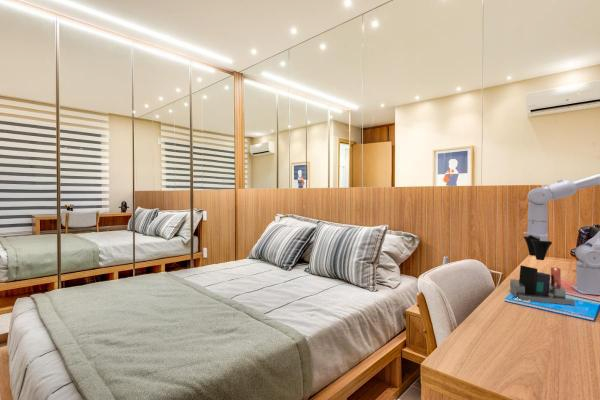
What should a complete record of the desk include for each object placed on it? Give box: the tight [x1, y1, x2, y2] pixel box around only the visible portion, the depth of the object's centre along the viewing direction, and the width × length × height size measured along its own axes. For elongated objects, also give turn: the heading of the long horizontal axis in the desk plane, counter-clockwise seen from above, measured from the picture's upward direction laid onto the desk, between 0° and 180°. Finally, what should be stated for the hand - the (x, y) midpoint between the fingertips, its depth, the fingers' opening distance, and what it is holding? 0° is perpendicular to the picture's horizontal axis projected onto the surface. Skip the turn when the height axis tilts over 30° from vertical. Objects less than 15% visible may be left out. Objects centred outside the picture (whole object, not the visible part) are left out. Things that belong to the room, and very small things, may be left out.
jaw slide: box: [548, 266, 566, 298], centre depth 98 cm, size 3×8×10 cm, turn 156°
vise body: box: [509, 278, 576, 306], centre depth 100 cm, size 14×12×4 cm
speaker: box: [518, 265, 551, 297], centre depth 100 cm, size 8×6×10 cm
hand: (536, 257), depth 111 cm, fingers open, 7 cm apart
